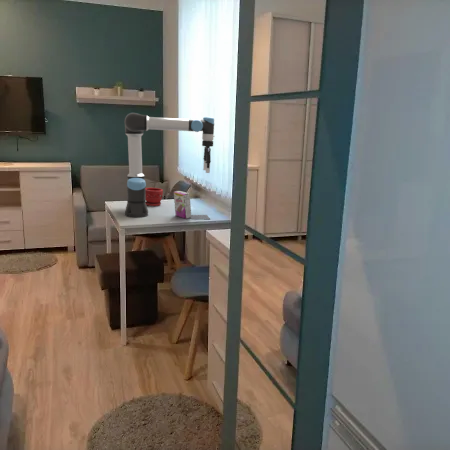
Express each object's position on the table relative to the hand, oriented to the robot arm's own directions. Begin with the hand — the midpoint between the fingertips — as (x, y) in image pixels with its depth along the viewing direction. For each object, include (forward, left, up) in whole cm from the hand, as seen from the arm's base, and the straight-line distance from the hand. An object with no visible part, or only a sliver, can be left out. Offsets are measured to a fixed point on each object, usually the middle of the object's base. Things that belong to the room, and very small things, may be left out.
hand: (206, 171), depth 302 cm
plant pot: (-35, +20, -28) cm, 49 cm away
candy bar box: (-18, -19, -28) cm, 38 cm away
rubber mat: (-8, -20, -28) cm, 35 cm away
